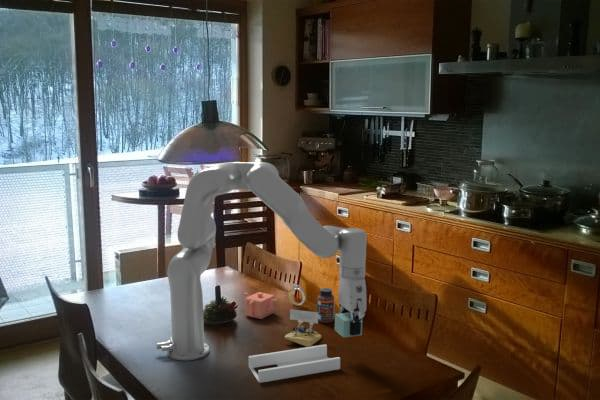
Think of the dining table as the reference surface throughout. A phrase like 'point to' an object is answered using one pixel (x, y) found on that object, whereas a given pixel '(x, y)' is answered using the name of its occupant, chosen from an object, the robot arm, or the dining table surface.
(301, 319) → the figurine with sign
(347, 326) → the green block
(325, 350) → the trough
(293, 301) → the ring
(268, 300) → the pink cube
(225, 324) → the dining table surface
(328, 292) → the supplement bottle
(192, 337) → the robot arm
